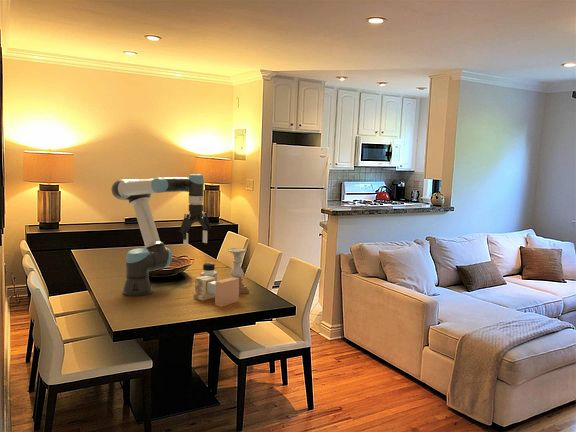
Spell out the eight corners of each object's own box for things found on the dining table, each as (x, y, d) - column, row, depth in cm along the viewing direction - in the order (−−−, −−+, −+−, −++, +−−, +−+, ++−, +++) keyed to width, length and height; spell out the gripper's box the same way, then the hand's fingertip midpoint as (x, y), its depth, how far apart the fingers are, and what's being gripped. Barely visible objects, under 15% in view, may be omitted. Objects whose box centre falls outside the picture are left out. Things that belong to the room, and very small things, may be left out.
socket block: (215, 305, 250) (215, 281, 248) (232, 299, 260) (233, 276, 259) (221, 306, 247) (221, 282, 246) (238, 301, 258) (239, 278, 256)
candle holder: (230, 295, 269) (231, 252, 267) (223, 290, 279) (224, 248, 276) (249, 293, 274) (250, 250, 272) (241, 288, 284) (242, 247, 281)
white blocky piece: (193, 297, 261) (193, 278, 260) (207, 294, 269) (207, 275, 268) (202, 300, 257) (203, 280, 256) (216, 296, 265) (216, 277, 264)
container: (212, 287, 284) (212, 265, 282) (199, 286, 285) (200, 264, 284) (217, 284, 291) (217, 262, 290) (204, 283, 293) (205, 261, 291)
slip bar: (203, 290, 260) (203, 281, 259) (210, 289, 264) (210, 279, 263) (224, 296, 251) (224, 286, 251) (231, 294, 255) (231, 284, 255)
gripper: (182, 205, 244) (182, 248, 247) (218, 203, 264) (217, 242, 267) (172, 204, 249) (172, 246, 251) (208, 202, 269) (207, 240, 271)
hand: (195, 244), depth 259 cm, fingers open, 13 cm apart
